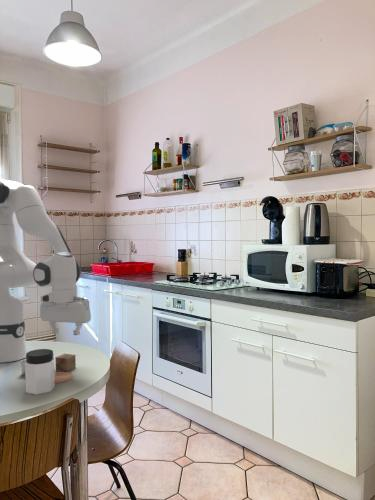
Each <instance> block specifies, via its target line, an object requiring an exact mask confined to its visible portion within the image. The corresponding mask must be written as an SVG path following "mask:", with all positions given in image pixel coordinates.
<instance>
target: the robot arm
mask: <svg viewBox="0 0 375 500" xmlns="http://www.w3.org/2000/svg"><path fill="white" fill-rule="evenodd" d="M14 215H15V217H16V220H17V224H18V226H19V227H20V229H21V230H22V231H23V232H24V233H26V234H27V235H30V236H34V237H37V238H40V239H41V240H44V241H46V242H47V243H48V244H49V245H50V246H51V247H52V249H53V253H52V255H50V257H49V258H47V259H45V260H42V261H41V262H38V263H37V264H36V263H35V262H34V261H32V260H31V259H30V258H29V257H27V256H26V255H25V254H24V252H23V251H22V249H21V247H20V246H19V243H18V238H17V235H16V230H15V224H14V220H13V216H14ZM0 259H2V260H3V261H0V363H8V362H9V363H10V362H11V363H12V362H15V361H20V360H23V359H26V353H27V352H29V349H28V348H27V342H26V335H25V331H26V329H25V328H26V327H25V326H26V324H25V323H26V322H25V321H24V304H23V302H22V301H21V299H19V298H17V297H15V296H13V295H11V293H10V289H15V288H16V289H17V288H24V287H28V286H31V285H34V284H37V285H38V287H46V288H47V287H52V288H51V292H49V293H47V294H43V295H41V296H40V302H41V303H40V307H39V313H40V314H39V316H40V319H41V321H42V322H48V323H49V326H50V328H51V329H52V331H51V332H52V334H55V335H57V334H59V332H60V331H59V328H58V327H57V323H69V324H75V326H76V327H75V329H73V331H72V332H73V336H79V335H80V334H81V333H80V330H81V328H82V326H83V324H87V323H89V322H91V319H92V315H91V309H90V300H89V299H87V297H85V296H78V285H77V282H78V281H79V279H80V277H81V276H82V275H81V274H82V269H81V267H80V264H79V263H78V261H77V260H76V259H75V256H74V254H73V253H72V252H71V250H70V247H69V245H68V243H67V241H66V238H65V237H64V235H63V232H61V229H60V228H59V227H58V225H57V224H56V223H54V221H53V220H51V217H50V216H49V214H48V212H47V211H46V207H45V205H44V203H43V200H42V198H41V196H40V194H39V191H37V189H36V188H35V187H34V186H33V185H28V184H26V183H21V182H18V181H15V180H11V179H1V178H0Z"/></svg>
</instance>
